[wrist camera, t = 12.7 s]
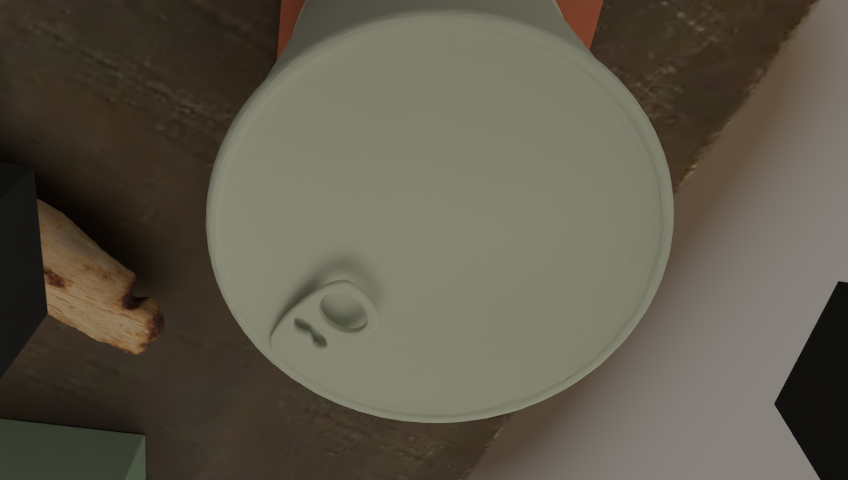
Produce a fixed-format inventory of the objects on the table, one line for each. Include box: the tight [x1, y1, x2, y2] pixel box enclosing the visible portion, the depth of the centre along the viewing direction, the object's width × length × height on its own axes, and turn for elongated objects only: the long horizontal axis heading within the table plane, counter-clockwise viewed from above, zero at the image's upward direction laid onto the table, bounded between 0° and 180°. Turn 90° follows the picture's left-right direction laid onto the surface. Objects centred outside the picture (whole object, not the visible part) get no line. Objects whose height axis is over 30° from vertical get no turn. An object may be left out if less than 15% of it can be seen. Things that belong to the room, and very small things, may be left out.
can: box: [206, 0, 674, 423], centre depth 19 cm, size 9×9×12 cm
